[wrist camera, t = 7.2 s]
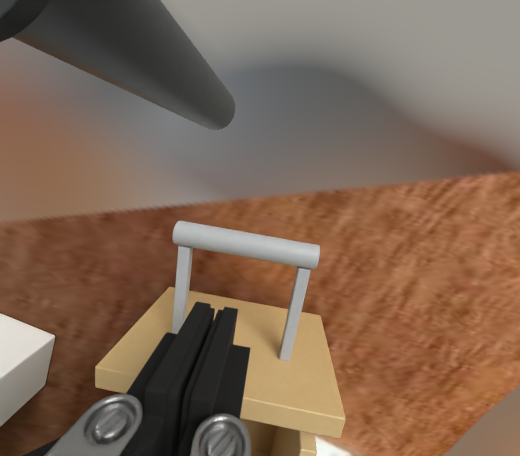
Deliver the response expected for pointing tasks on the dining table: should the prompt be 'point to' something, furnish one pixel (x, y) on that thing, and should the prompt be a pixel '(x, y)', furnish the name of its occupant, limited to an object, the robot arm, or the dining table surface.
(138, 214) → the dining table surface
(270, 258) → the drawer
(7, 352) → the milk
